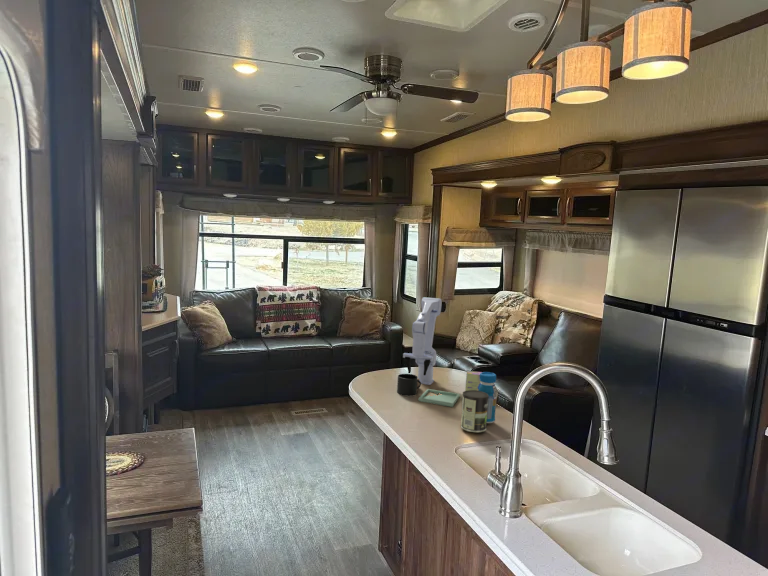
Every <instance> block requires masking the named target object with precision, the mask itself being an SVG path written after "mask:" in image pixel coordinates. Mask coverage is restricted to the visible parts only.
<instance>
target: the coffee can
mask: <svg viewBox="0 0 768 576" xmlns="http://www.w3.org/2000/svg"><path fill="white" fill-rule="evenodd" d="M488 397H489V395H488V394H487V393H485V392H482V391H476V390H468V391H465V390H464V391H462V403H461V404H462V405H461V420H460V421H461V422H460V427H461V429H462V430H464V431H466V432H470V433H484V432H486V431H487V423H486V422H487V408H488Z"/></svg>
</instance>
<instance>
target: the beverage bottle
mask: <svg viewBox="0 0 768 576" xmlns="http://www.w3.org/2000/svg"><path fill="white" fill-rule="evenodd" d="M481 372H482V371H481ZM480 382H481V383H480V384H479V385H478V388H477V390H478V391H482V392H485V393H487V394H488V395H489V397H488V408H487V422H486V424H492V423H494V422H495V420H496V407H497V398H498V395H497V392H498V389H497V385H496V384H495V383H497V374H496V373H494V372H490V371H483V372H482V373H480Z"/></svg>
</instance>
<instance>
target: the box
mask: <svg viewBox="0 0 768 576" xmlns="http://www.w3.org/2000/svg"><path fill="white" fill-rule="evenodd" d="M480 373H482V371H470V370H467V371H466V376H465V390H464V391H468V390H476V391H478V390H477V388H478V385H479V384H480V383H481V382H480Z"/></svg>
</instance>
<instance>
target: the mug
mask: <svg viewBox="0 0 768 576" xmlns="http://www.w3.org/2000/svg"><path fill="white" fill-rule="evenodd" d="M417 378H418V375H416V374H412V373H400V374H398V375H397V385H396V392H397V394H399V396H404V397H413V396H416V395H417V394H418V393H417V392H418V390H419V389H420V388H421V385H422V384H421V382H420V381H419V380H417ZM417 382H419V386H418V387H417ZM418 388H419V389H418ZM417 389H418V390H417Z"/></svg>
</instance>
